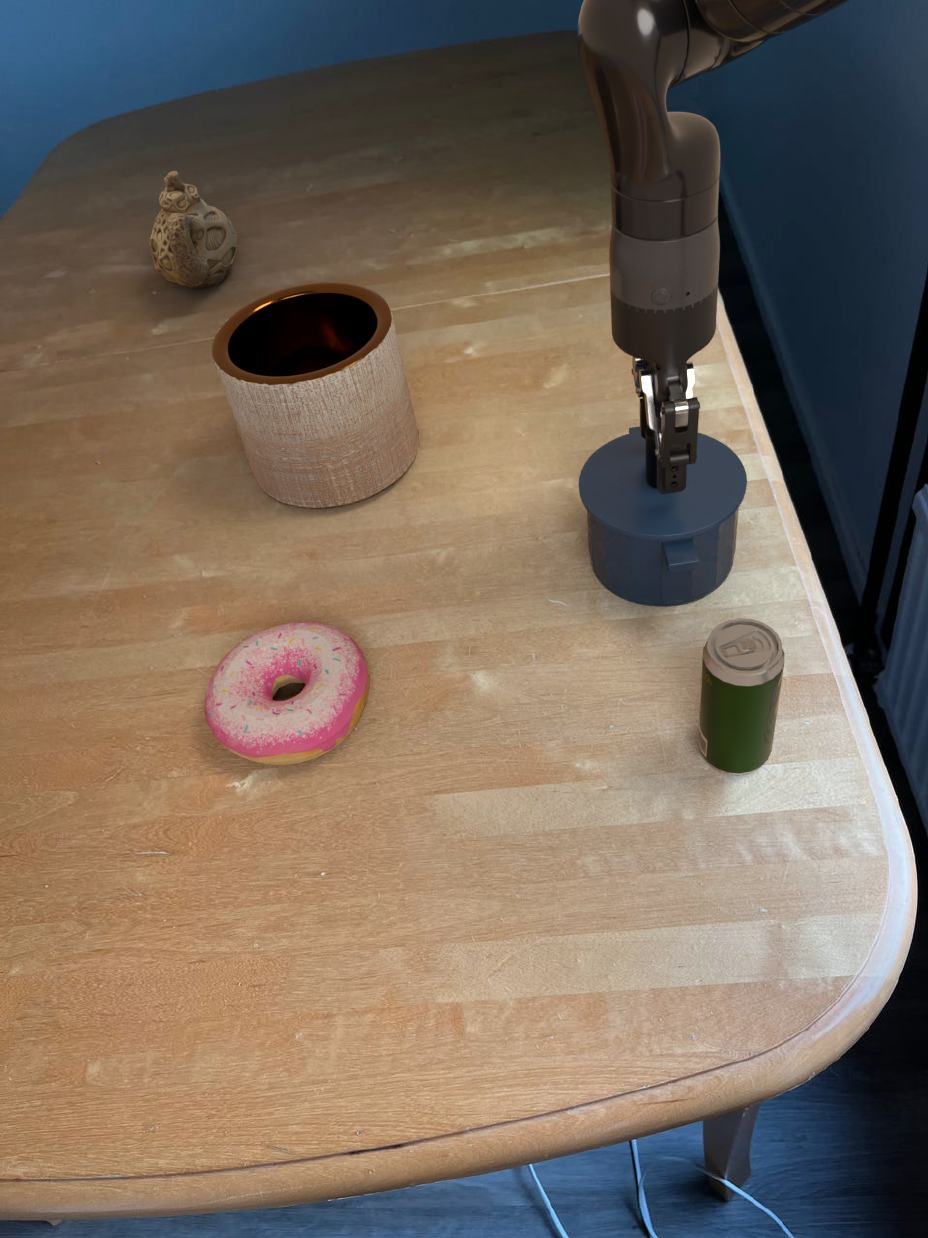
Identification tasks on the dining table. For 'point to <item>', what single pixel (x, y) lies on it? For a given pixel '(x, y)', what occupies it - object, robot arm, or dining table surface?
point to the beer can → (739, 695)
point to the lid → (629, 496)
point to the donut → (297, 723)
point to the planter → (318, 393)
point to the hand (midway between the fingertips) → (662, 461)
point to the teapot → (191, 237)
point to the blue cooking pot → (662, 562)
